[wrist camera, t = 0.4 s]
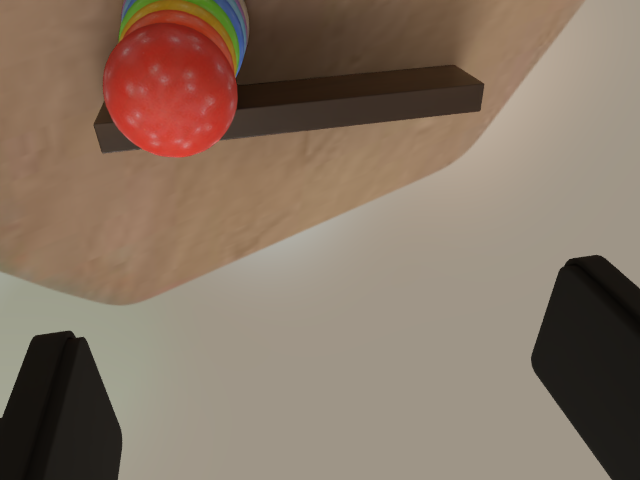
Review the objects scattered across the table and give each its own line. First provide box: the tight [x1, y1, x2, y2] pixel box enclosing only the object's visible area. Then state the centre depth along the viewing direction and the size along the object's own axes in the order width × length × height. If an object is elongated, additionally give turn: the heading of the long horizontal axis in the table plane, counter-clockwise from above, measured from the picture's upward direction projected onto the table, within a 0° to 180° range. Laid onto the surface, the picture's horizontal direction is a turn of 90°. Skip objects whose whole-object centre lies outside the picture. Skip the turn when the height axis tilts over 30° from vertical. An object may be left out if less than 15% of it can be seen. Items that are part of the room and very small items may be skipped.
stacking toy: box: [103, 0, 249, 157], centre depth 26 cm, size 8×8×19 cm
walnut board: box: [94, 65, 484, 153], centre depth 35 cm, size 2×26×5 cm, turn 92°
